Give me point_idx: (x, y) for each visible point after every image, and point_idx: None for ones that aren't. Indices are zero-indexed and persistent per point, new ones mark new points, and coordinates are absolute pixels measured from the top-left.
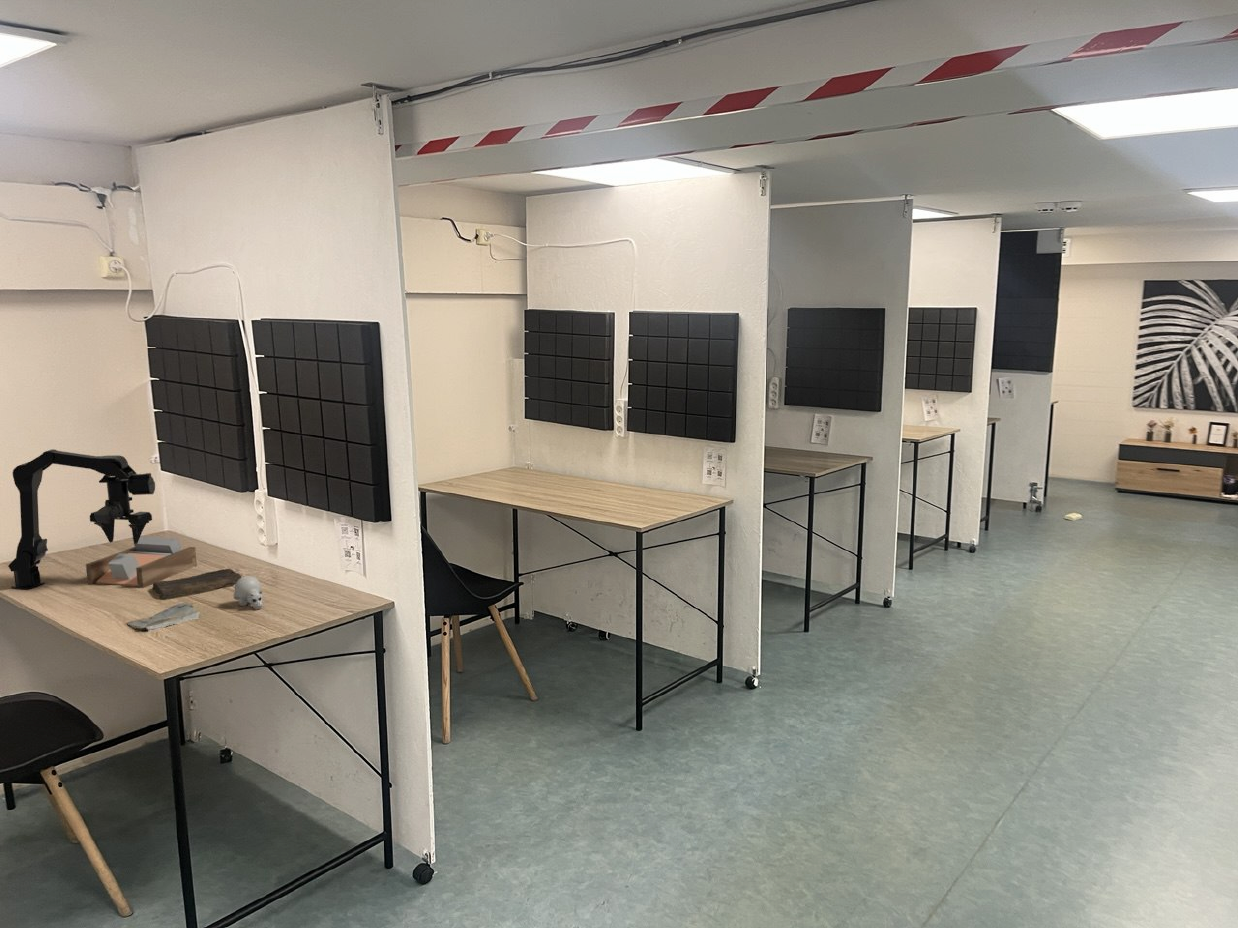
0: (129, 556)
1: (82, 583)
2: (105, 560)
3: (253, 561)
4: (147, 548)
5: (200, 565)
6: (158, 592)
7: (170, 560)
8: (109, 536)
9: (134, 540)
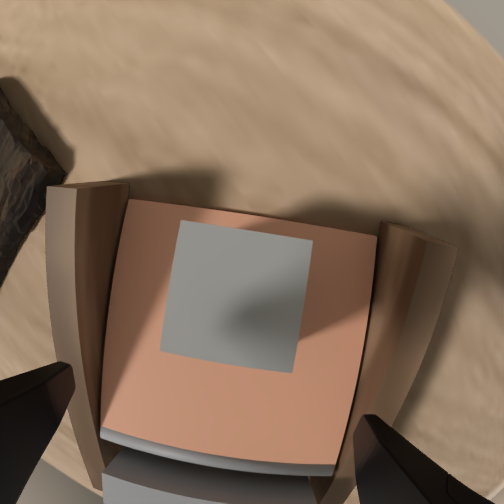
0: (180, 325)
1: (430, 230)
2: (391, 349)
3: None
4: (245, 490)
5: None
6: (17, 120)
7: None
8: (383, 457)
9: (40, 372)
